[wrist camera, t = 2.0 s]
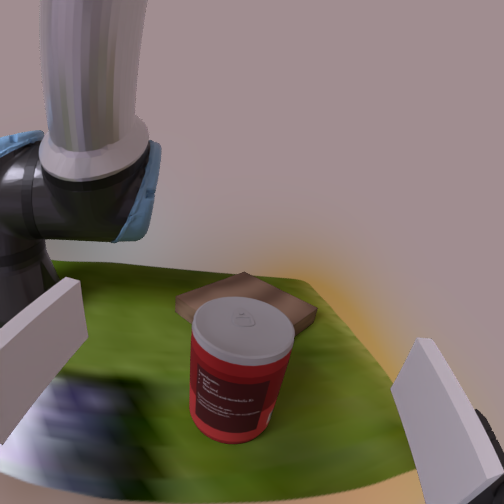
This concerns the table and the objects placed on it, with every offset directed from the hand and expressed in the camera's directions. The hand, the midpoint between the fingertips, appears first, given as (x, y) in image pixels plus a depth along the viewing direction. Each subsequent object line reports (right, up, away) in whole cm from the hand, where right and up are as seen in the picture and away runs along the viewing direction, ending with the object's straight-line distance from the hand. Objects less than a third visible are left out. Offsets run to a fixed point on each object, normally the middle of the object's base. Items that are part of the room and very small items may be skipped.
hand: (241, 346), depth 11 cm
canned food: (-2, -12, +15) cm, 20 cm away
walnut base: (0, -6, +31) cm, 32 cm away
